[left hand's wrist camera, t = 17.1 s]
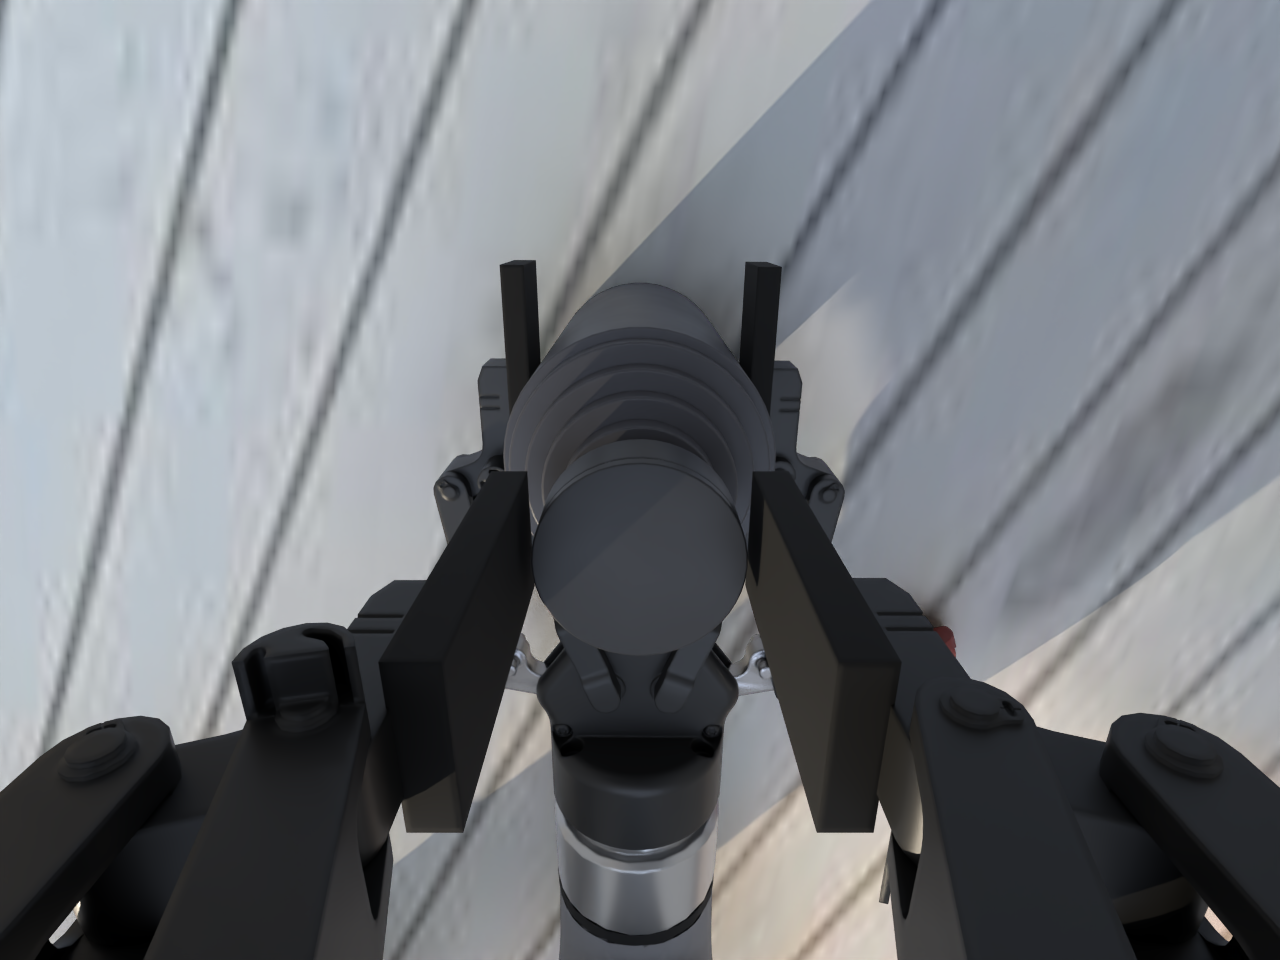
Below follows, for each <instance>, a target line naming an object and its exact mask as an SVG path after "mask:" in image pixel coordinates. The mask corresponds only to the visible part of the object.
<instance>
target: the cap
mask: <svg viewBox="0 0 1280 960" xmlns="http://www.w3.org/2000/svg"><path fill="white" fill-rule="evenodd" d="M531 565H532V574H533V578H534V582H535V586H536V588H537V591H538V593H539V596H540V598H541V600H542V602H543V603H544V605H545V607H546V608H547V610H548V611H549V612H550V614H551V615H552V616H553V618H554V619H555V620H556V621H557V622H558V623H559V624H560V625H561V626H562V627H563V628H564V629H566V630H567V631H568V632H570V633H571V634H572V635H573V636H575V637H577V638H578V639H580V640H582V641H583V642H585V643H587V644H589V645H592V646H594V647H596V648H599V649H602V650H605V651H608V652H613V653H618V654H623V655H635V656H640V655H655V654H662V653H666V652H670V651H674V650H677V649H680V648H683V647H685V646H688V645H690V644H692V643H694V642H696V641H698V640H699V639H701V638H702V637H704V636H705V635H707V634H708V633H710V632H711V631H712V630H713V629H714V628H716V627H717V626H718V625H719V624H720V623H721V622H722V621H723V620H724V619H725V617H726V616H727V615H728V614H729V613H730V611H731V610H732V608H733V607H734V605H735V604H736V602H737V600H738V598H739V596H740V594H741V592H742V588H743V585H744V582H745V579H746V573H747V567H748V552H747V544H746V539H745V536H744V532H743V529H742V526H741V523H740V520H739V517H738V514H737V511H736V508H735V505H734V502H733V499H732V497H731V495H730V492H729V490H728V488H727V487H726V485H725V484H724V482H723V480H722V479H721V478H720V476H719V475H718V474H717V473H716V472H715V471H714V469H713V468H711V467H710V466H709V465H708V464H707V463H706V462H705V461H703V460H702V459H701V458H699V457H698V456H696V455H695V454H693V453H691V452H689V451H687V450H685V449H683V448H681V447H679V446H676V445H673V444H670V443H666V442H662V441H657V440H647V439H630V440H623V441H617V442H613V443H609V444H606V445H603V446H600V447H598V448H596V449H594V450H591V451H589V452H588V453H586V454H585V455H583V456H581V457H580V458H578V459H577V460H576V461H575V462H573V463H572V464H571V465H570V466H569V467H568V468H567V469H566V470H565V471H564V472H563V473H562V474H561V475H560V476H559V478H558V479H557V481H556V482H555V483H554V485H553V487H552V489H551V491H550V493H549V494H548V497H547V500H546V502H545V505H544V508H543V511H542V514H541V517H540V520H539V523H538V526H537V529H536V532H535V535H534V539H533V545H532V553H531Z"/></svg>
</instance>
